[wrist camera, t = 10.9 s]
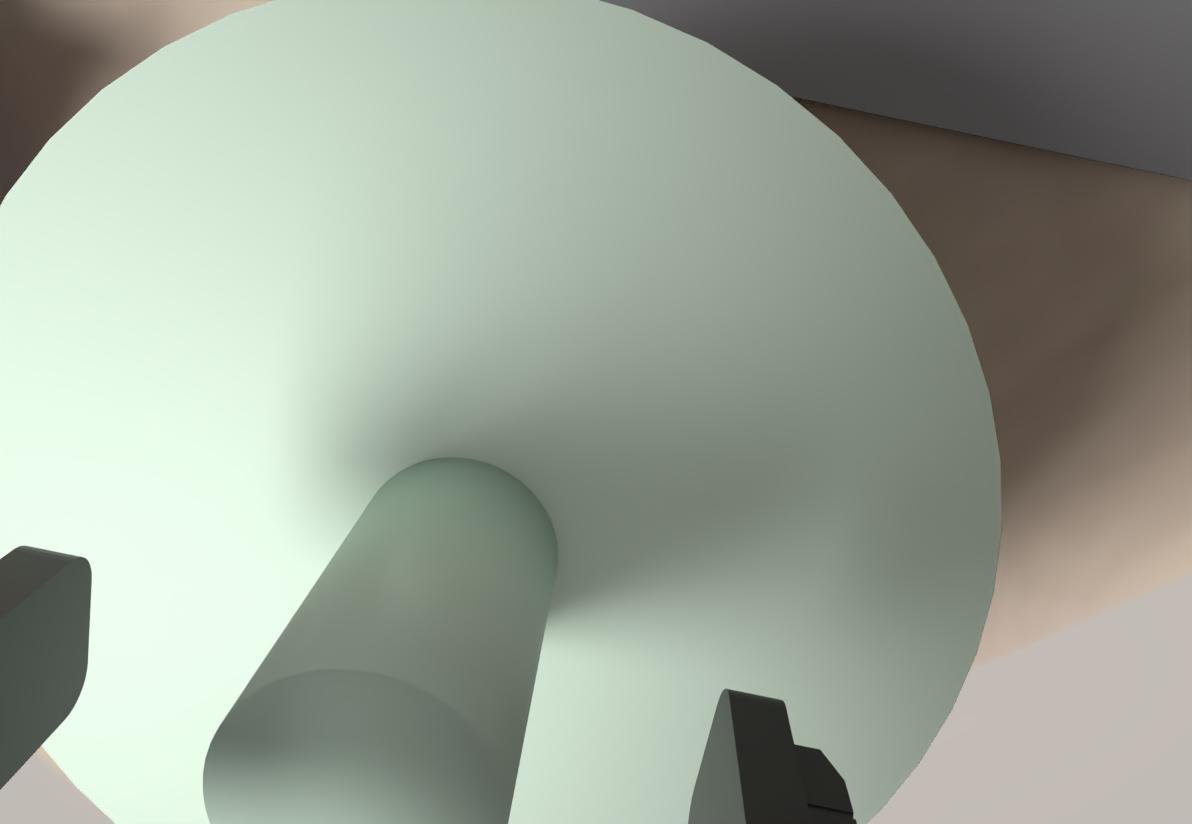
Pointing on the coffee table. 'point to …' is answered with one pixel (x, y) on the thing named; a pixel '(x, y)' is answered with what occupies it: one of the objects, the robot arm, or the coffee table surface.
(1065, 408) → the coffee table surface
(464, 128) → the lid
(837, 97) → the mat
